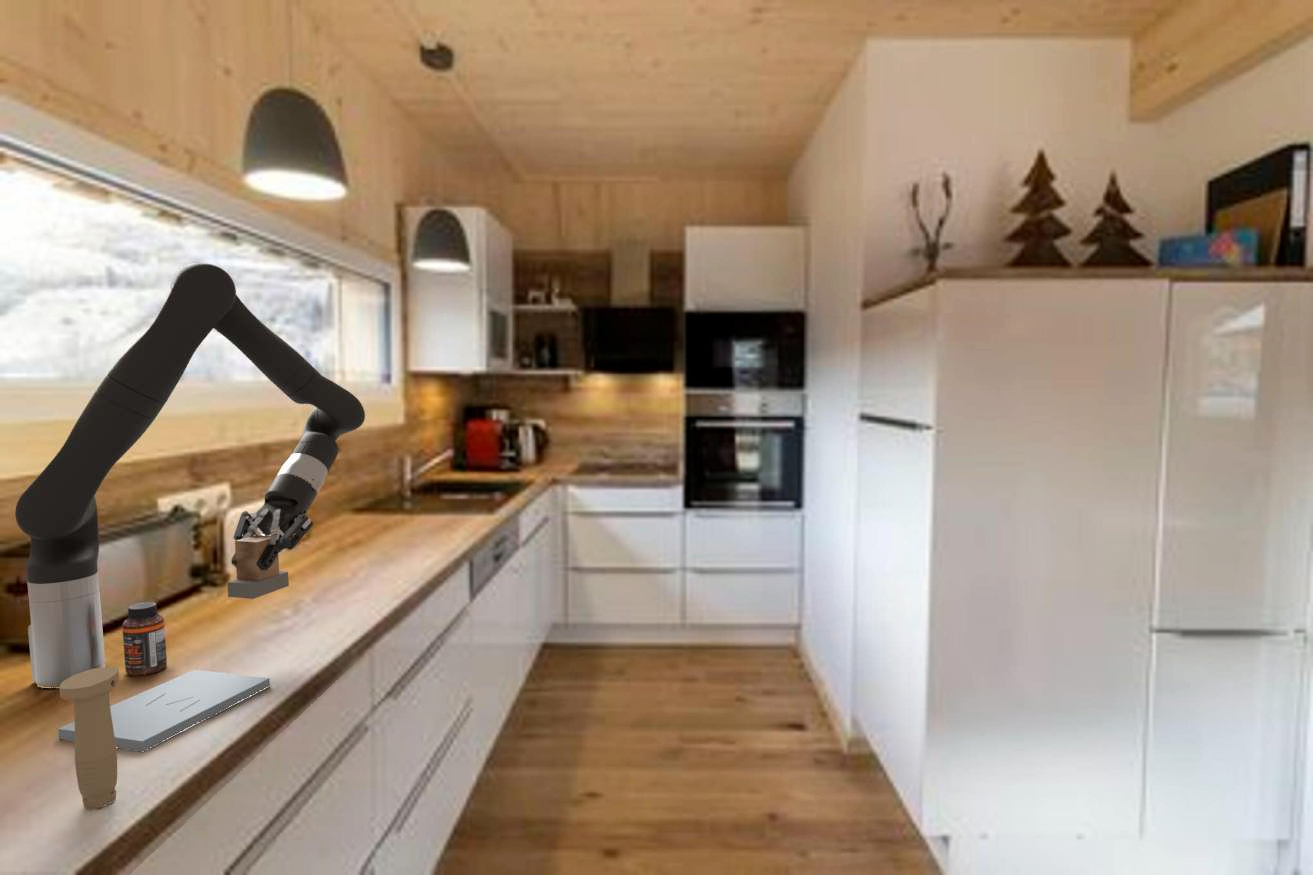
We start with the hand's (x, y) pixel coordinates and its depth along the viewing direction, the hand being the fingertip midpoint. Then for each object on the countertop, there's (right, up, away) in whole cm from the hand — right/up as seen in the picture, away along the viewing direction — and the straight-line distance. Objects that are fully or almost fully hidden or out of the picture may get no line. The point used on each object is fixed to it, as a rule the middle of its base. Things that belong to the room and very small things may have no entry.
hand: (248, 566), depth 129 cm
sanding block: (+1, -5, +2) cm, 5 cm away
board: (-4, -19, -14) cm, 24 cm away
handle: (+3, -21, -39) cm, 44 cm away
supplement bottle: (-19, -18, +3) cm, 26 cm away
